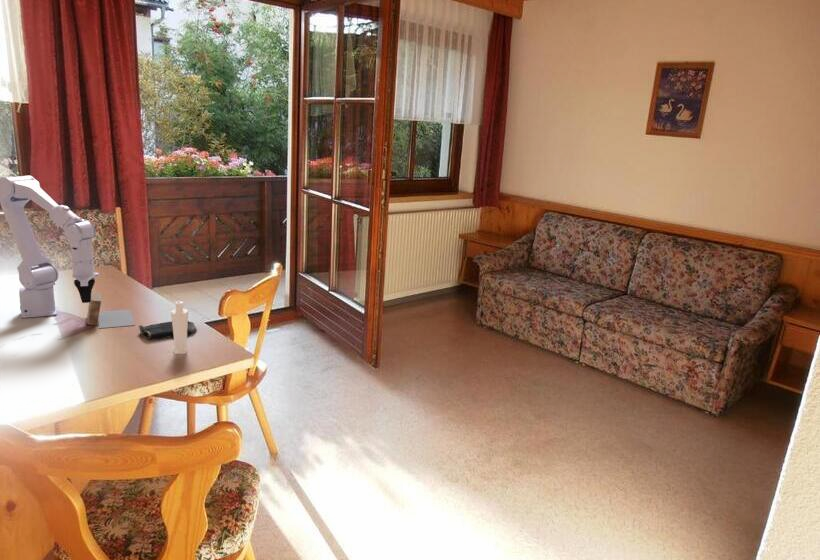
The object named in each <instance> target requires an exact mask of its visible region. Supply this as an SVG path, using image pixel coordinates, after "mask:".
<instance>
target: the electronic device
mask: <svg viewBox="0 0 820 560" xmlns="http://www.w3.org/2000/svg"><path fill="white" fill-rule="evenodd" d="M138 329H139V333H140V334H142V335H144V337H145V338H146V339H148V340H149V341H153V340H160V339H165V338H171V337H174V335H173V326H172V321H167V322H160V323H155V324H150V325H145V326H143V324H142V325H141V324H140V325H138ZM196 331H197V327H196V325H195V322H193V321H189V320H188V325H187V336H188V335H191V334H193V333H195V332H196Z"/></svg>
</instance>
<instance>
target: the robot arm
mask: <svg viewBox="0 0 820 560" xmlns="http://www.w3.org/2000/svg"><path fill="white" fill-rule="evenodd" d="M30 200H31V201H32V202H33V203H35V204H36V205H38V206H39V207H40V208H42V209H43V210H45V211H46V212H47V213H49V214H48V216H49V219H50V220H51V221H53V222H54V223H55V224H56V225H57V226H58V227H59V228H61V229H62V230H63V231H64V234H65V237H66V238H67V241H68V244H69V246H70V249H71V261H72V273H73V274H72V278H74V280H73V284H74V286H75V287H76V290H77V291H78V293H79V296H80V297H79V298H80V300H81V302H82V304H86V303H88V304H89V302H90V300H91V293H92V292H93V291H92V290H93V288H94V286H95V283H96V279H95V277H99V276H100V274H99V272H95V264H94V263H95V262H94V251H93V249H94V248H93V238H94V237H95V236H96V233H97V230H96V226H95V224H93V223H92V221H91V220H89V219H88V220H87V219H83V218H81V217H80V216H78V215H77V214H76V213H75V212H73V211H72V210H71V208H70V207H68V205H64V204H60V205H59V204H58V203H57V202H56V201H55V200H53V198H52V197H51V196H50V195H48V193H46V191H44V190H43V189H42V187H41V184H40V182H39V181H38V180H37V179H36V178H35V177H33V176H32V175H28V174H27V175H20V176H19V175H18V176H17V175H16V176H7V177H5V176H0V207H1V210H2V212H3V214H4V216H5V220H6V221H7V224H8V227H9V229H10V232H11V234H12V236H13V239H14V241H15V244H16V246H17V249H18V251H19V253H20V256H21V259H22V261H21V262H20V263H19V265H18V266H17V269H16V270H17V271H18V278H19V280H18V281H19V282H20V284H21V286H23V287H20V288H19V292H18V293H19V294H18V295H19V296H18V297H19V303H20V304H19V310H20V314H21V318H22V319H24V318H25V319H26V318H37V317H49V316H56V315H57V314H58V306H56V301H55V289H54V286H55V285H56V282H57V281H58V279H59V271H58V269H57V267H56V266H55V265H54V263H53V261H52V260H51V259H50V258H49V257H47V256H45V255H43V253H42V251H41V249H40V247H39V244H38V241H37V239H36V236H35V234H34V231H33V229H32V226H31V224H30V221H29V219H28V216H27V213H26V211H25V207H26V204H27V203H28V202H29V201H30Z"/></svg>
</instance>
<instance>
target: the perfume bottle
mask: <svg viewBox="0 0 820 560" xmlns="http://www.w3.org/2000/svg"><path fill="white" fill-rule="evenodd" d="M174 303H175V308H174V309H172V310H170V315H171V322H172V326H173V335H174V336H173V341H174V348H173V352H174V353H175V355H182V354H187V353H188V351H189V349H188V346H187V341H188V335H187V325H188V321H189V310H188V309H186V308H184V301H181V300H179V301H175V302H174Z"/></svg>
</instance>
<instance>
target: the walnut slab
mask: <svg viewBox="0 0 820 560" xmlns="http://www.w3.org/2000/svg"><path fill="white" fill-rule="evenodd" d="M101 305H102V297H101V292H94V291H92V292H91V300H90V302H89V303H88V307H87V308H88V309H87V315H86V316H87V325H89V326H98V324H99V321H98V317H99V312H101Z"/></svg>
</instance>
